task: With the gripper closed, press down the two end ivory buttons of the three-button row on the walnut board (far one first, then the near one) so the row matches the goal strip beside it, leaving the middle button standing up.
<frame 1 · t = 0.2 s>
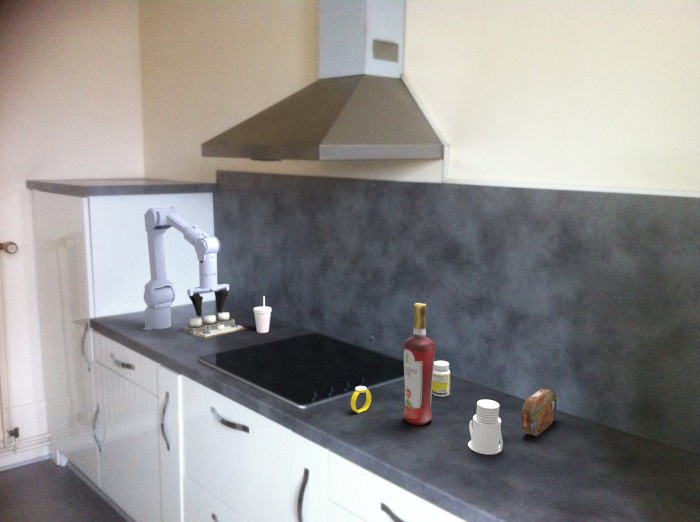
hand: (209, 314, 214), 10 cm above the worktop, tool pointing down, fingers open, 7 cm apart
liquor: (417, 421, 152), on the worktop
downlight: (485, 448, 138), on the worktop
console: (214, 333, 227), on the worktop
smoothie: (262, 335, 226), on the worktop
goal strip: (220, 331, 225), resting on console
button mid: (210, 319, 228), point 5 cm above the worktop, slide at 0.0 cm
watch: (360, 411, 158), on the worktop
button near: (195, 322, 224), point 5 cm above the worktop, slide at 0.0 cm
button far: (223, 316, 233), point 5 cm above the worktop, slide at 0.0 cm
tin: (537, 429, 148), on the worktop
supplement bottle: (440, 394, 170), on the worktop
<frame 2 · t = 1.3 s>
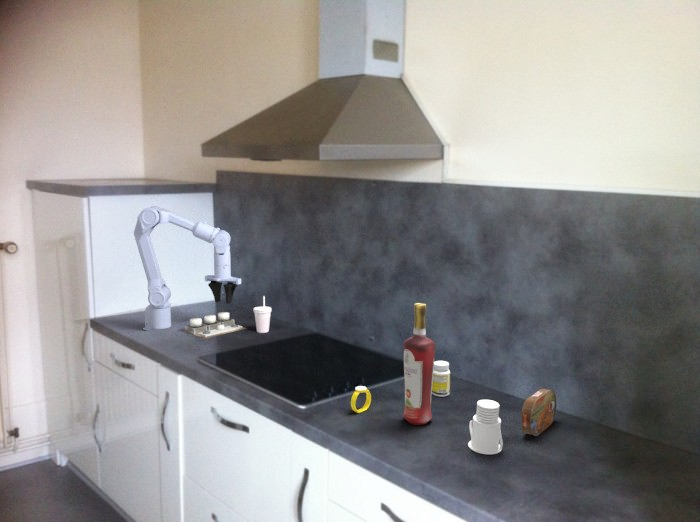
hand: (223, 302, 232), 10 cm above the worktop, tool pointing down, fingers open, 4 cm apart
nothing on the worktop moved.
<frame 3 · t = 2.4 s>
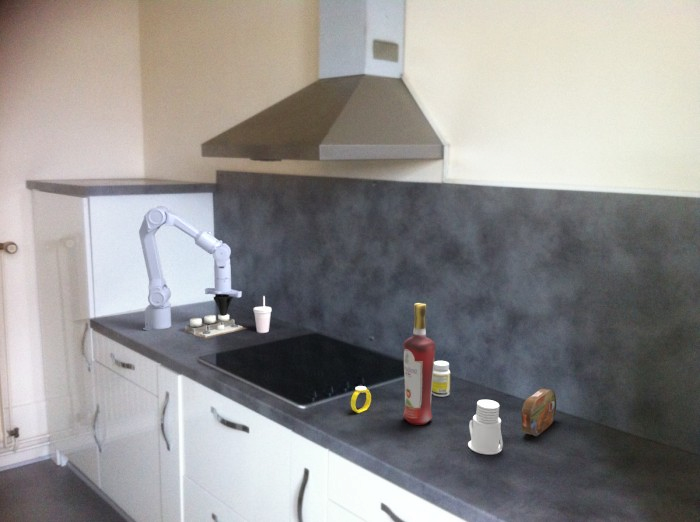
hand: (223, 315, 233), 5 cm above the worktop, tool pointing down, fingers closed, pressing on button far
button far: (223, 318, 233), point 4 cm above the worktop, slide at 0.6 cm, touching gripper
everything else where it was.
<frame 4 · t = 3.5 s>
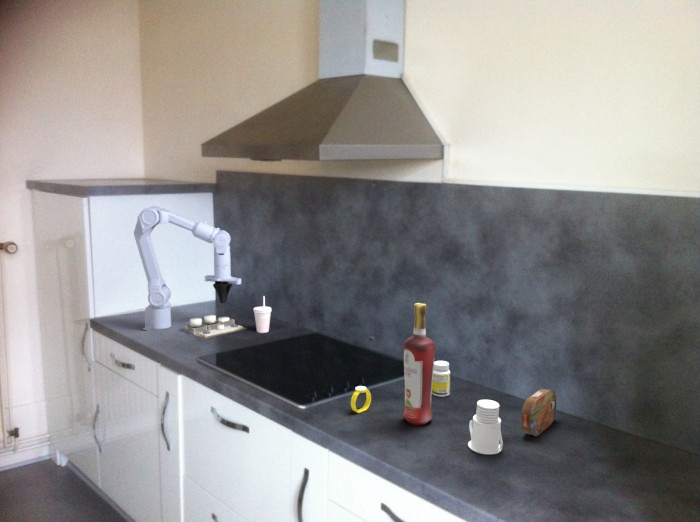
hand: (223, 302, 232), 10 cm above the worktop, tool pointing down, fingers closed
button far: (223, 321, 233), point 3 cm above the worktop, slide at 1.8 cm
everything else where it was.
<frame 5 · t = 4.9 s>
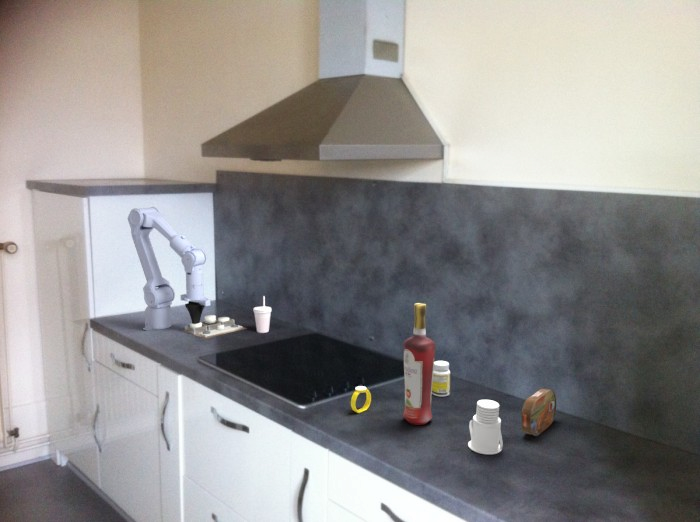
hand: (195, 323, 224), 4 cm above the worktop, tool pointing down, fingers closed, pressing on button near
button near: (195, 326, 224), point 3 cm above the worktop, slide at 1.4 cm, touching gripper
everything else where it was.
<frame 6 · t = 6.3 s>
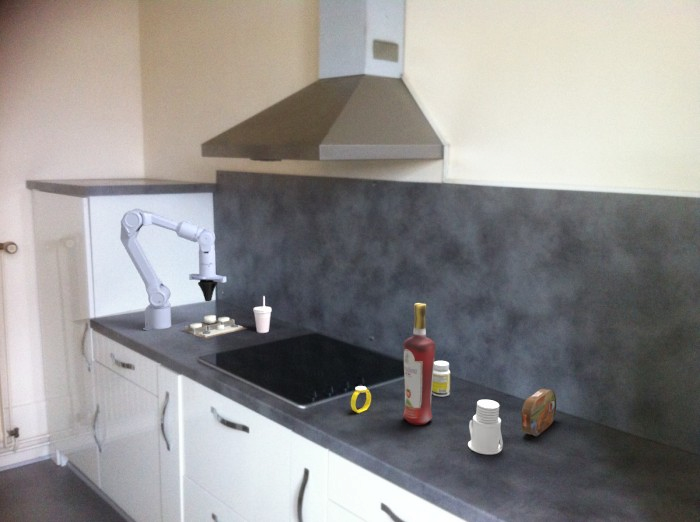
hand: (208, 300, 232), 10 cm above the worktop, tool pointing down, fingers closed
button near: (196, 327, 224), point 3 cm above the worktop, slide at 1.8 cm
everything else where it was.
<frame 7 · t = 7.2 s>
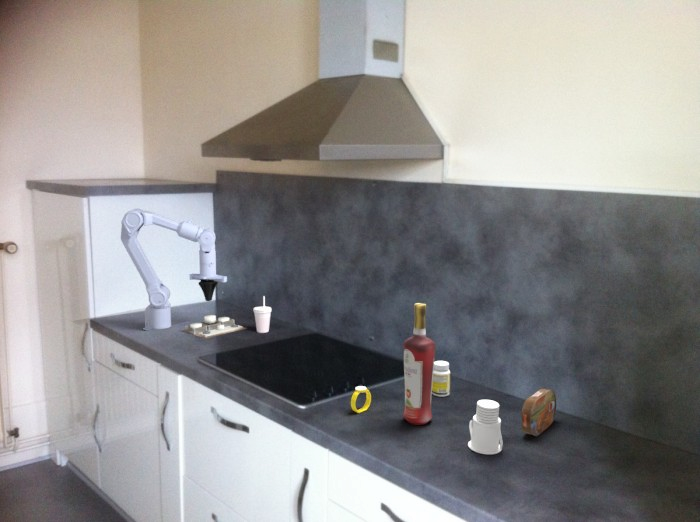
hand: (208, 300, 232), 10 cm above the worktop, tool pointing down, fingers closed
nothing on the worktop moved.
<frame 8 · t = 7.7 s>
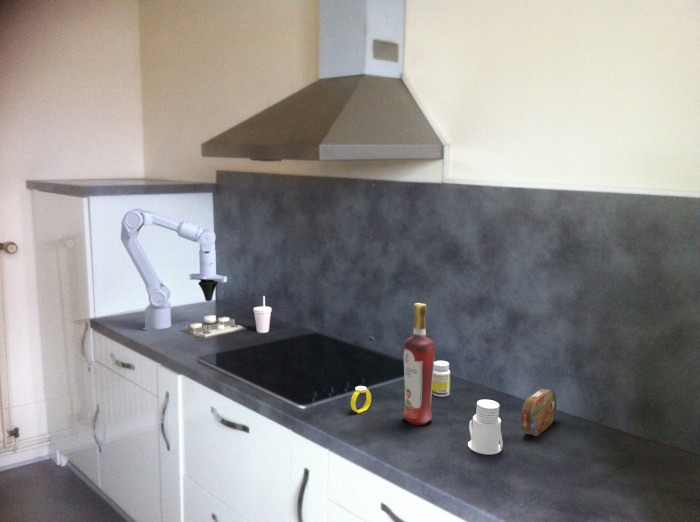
hand: (208, 300, 232), 10 cm above the worktop, tool pointing down, fingers closed
nothing on the worktop moved.
at the end: button far slide at 1.8 cm; button near slide at 1.8 cm; button mid slide at 0.0 cm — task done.
